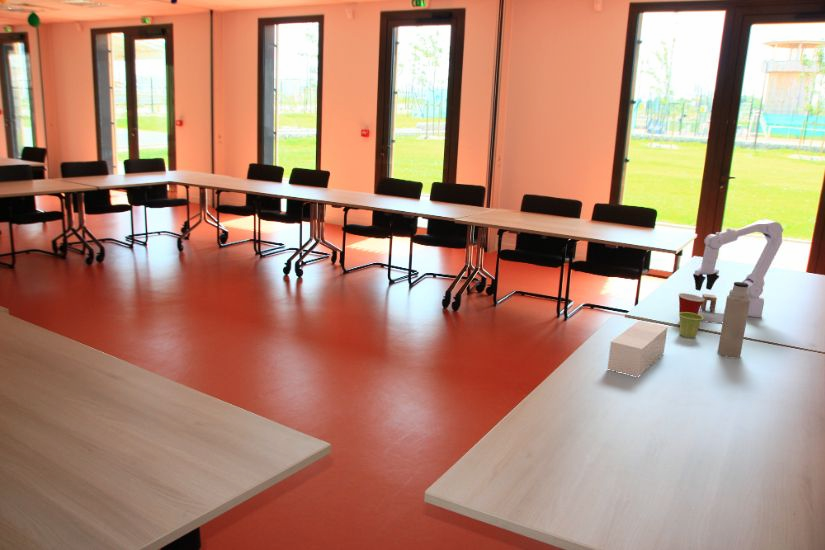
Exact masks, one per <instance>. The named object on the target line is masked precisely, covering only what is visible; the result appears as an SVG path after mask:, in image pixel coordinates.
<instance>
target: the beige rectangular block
mask: <svg viewBox="0 0 825 550" xmlns="http://www.w3.org/2000/svg"><path fill="white" fill-rule="evenodd" d="M667 333H668V326H664V325H660V324H655V323H650V322H646V321H641V320H638V321H637V322H635V323H634V324H633V325H632V326H631V327H629V328H627V329H626V330H625V331H623V332H621V334H620V335H618V336H617V337H615V338H614V339H612V340H611V341H610V345H609V352H608V353H609V354H608V363H607V367H606V370H607V369H610V370H614V371H617V372H622V373H626V374H629V375H633V376H636V377H638V376H639V375H641V374H642V373H643V372H644V371H645V370H646V369H647V368H648V367H649V366H650V365H651V366H653V365H654V363H655V361H656V360H657V359H658V358H659V357H660V356H661V355H662V354H663V353H664V354H665V348H666V340H667ZM664 354H663V355H664ZM663 355H662V356H663ZM662 356H661V357H662ZM661 357H660V358H661ZM660 358H659V359H660ZM659 359H658V360H659ZM658 360H657V361H658ZM657 361H656V362H657ZM651 366H650V367H651ZM650 367H649V368H650ZM649 368H648V369H649ZM648 369H647V370H648ZM647 370H646V371H647ZM646 371H645V372H646ZM645 372H644V373H645ZM644 373H643V374H644ZM643 374H642V375H643ZM642 375H641V376H642Z"/></svg>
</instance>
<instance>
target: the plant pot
mask: <svg viewBox="0 0 825 550" xmlns="http://www.w3.org/2000/svg"><path fill="white" fill-rule="evenodd" d="M678 316H679V335H680V336H681V337H683V338H687V339H691V338H693V339H694V338H696V337H697V335H698V330H699V327H700V324H701V322H702V319H703V317H702V316H701V315H698V314H695V313H690V312H681V313H678Z"/></svg>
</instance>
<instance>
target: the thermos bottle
mask: <svg viewBox="0 0 825 550" xmlns="http://www.w3.org/2000/svg"><path fill="white" fill-rule="evenodd" d="M747 287H748V284H746V283H742V281H734V282H733V287H732V289H730V290H729V294H728V295H727V296H726V301H725V307H724V311H723V314H724V317H723V323H722V324H721V328H720V329H721V330H720V336H719V340H718V348H717V353H718V354H719V355H720V356H722V355H723V356H722V357H725V356H727V357H726V358H730V357H738V358H740V357H741V354H742V349H743V344H744V336H745V332H746V328H747V327H746V326H747V322H748V321H747V319H748V317H749V316H748V310H749V304H750V299H749V293H748V292H747V289H748V288H747Z"/></svg>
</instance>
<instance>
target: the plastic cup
mask: <svg viewBox="0 0 825 550" xmlns="http://www.w3.org/2000/svg"><path fill="white" fill-rule="evenodd" d="M677 295H678V302H679V304H678V306H679V307H678V308H679V313H681V312H690V313H695V314H698V312H699V311H700V308H701V304H702V302H703V301H704V300H705V299H704V298H702V297H701V296H699V295H696V294H692V293H686V292H685V293H684V292H683V293H682V292H679V293H678V294H677ZM679 313H678V314H679Z"/></svg>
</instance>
